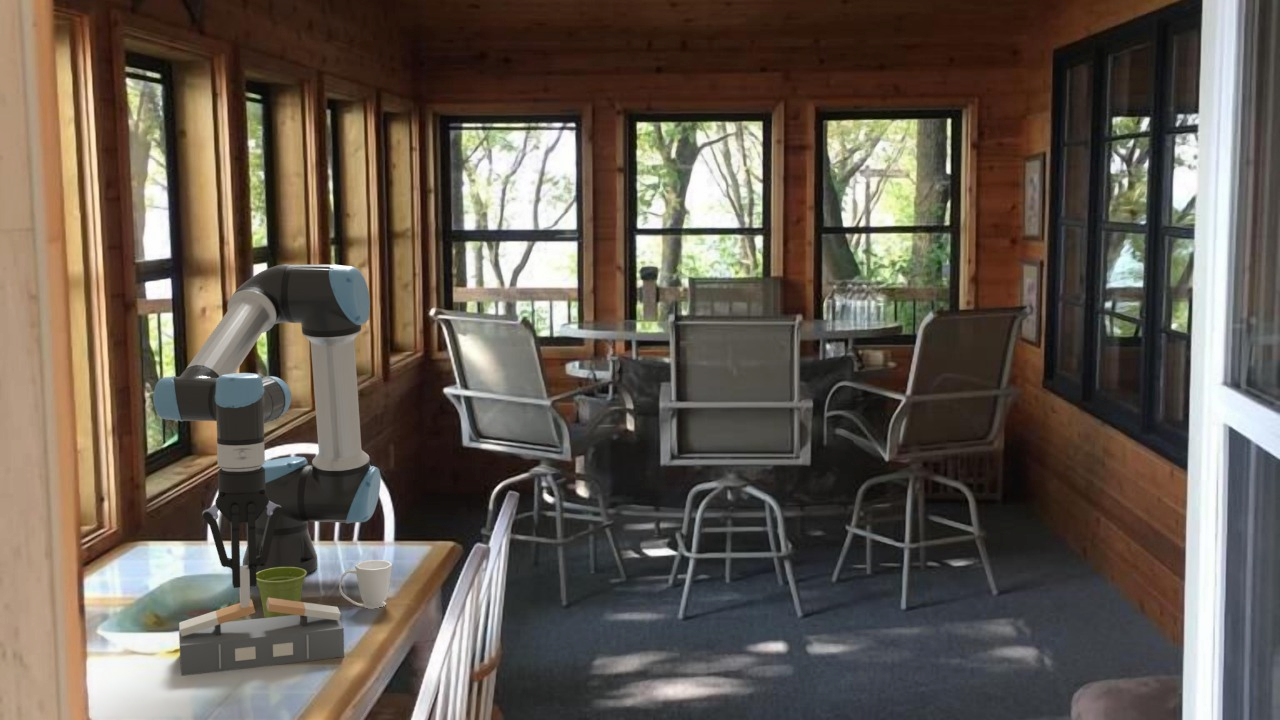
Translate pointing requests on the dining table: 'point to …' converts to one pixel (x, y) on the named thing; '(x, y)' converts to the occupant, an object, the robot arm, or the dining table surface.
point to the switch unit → (260, 643)
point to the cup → (371, 582)
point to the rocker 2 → (303, 608)
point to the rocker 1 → (215, 618)
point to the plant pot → (280, 586)
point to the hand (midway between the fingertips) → (245, 605)
